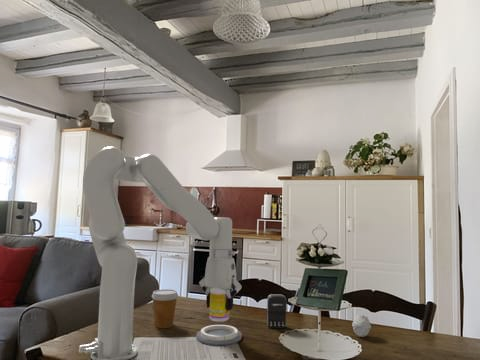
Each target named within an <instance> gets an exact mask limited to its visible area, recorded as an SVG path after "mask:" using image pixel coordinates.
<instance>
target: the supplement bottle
mask: <svg viewBox="0 0 480 360" xmlns="http://www.w3.org/2000/svg"><path fill="white" fill-rule="evenodd" d="M226 298H228V296H227V293H226V291H225V289H220V288H218V287H216V288H211V289H210V307H209V313H208V314H209V315H208V316H209V319H210V321H212V322H219V323H220V322H226V321H228V320H229V319H230V310H229V311H227V310H226Z"/></svg>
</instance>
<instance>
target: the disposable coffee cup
mask: <svg viewBox="0 0 480 360" xmlns="http://www.w3.org/2000/svg"><path fill="white" fill-rule="evenodd" d="M178 296H179V294H178V291H177V290H175V289H171V288H169V289H168V288H167V289H157V290H154V291H153V292H152V295H151V299H152V305H153V306H152V307H153V317H154V326H155V328H158V329H168V328H171V327H173V325H174V319H175V313H176V312H175V311H176V306H177V300H178Z"/></svg>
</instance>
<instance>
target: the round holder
mask: <svg viewBox="0 0 480 360" xmlns="http://www.w3.org/2000/svg"><path fill="white" fill-rule="evenodd" d="M242 337H243V334H242V332H241V331H240V330H239V329H238V328H237V327H236V326H232V325H228V324H212V325H207V326H205V327H202V328H201V329H200V330H199V331H197V332H196V340H197V342H199V343H201V344H204V345H208V346H215V347H216V346H217V347H219V346H220V347H221V346H230V345H234V344H238V343H239V342H241V340H242Z"/></svg>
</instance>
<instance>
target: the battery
mask: <svg viewBox="0 0 480 360" xmlns="http://www.w3.org/2000/svg"><path fill="white" fill-rule="evenodd" d="M287 309H288V308H287V298H286V296H285V295H283V294H269V295H268V296H267V302H266V310H267V313H266V314H267V327H268V328H269V329H286V327H287Z"/></svg>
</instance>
